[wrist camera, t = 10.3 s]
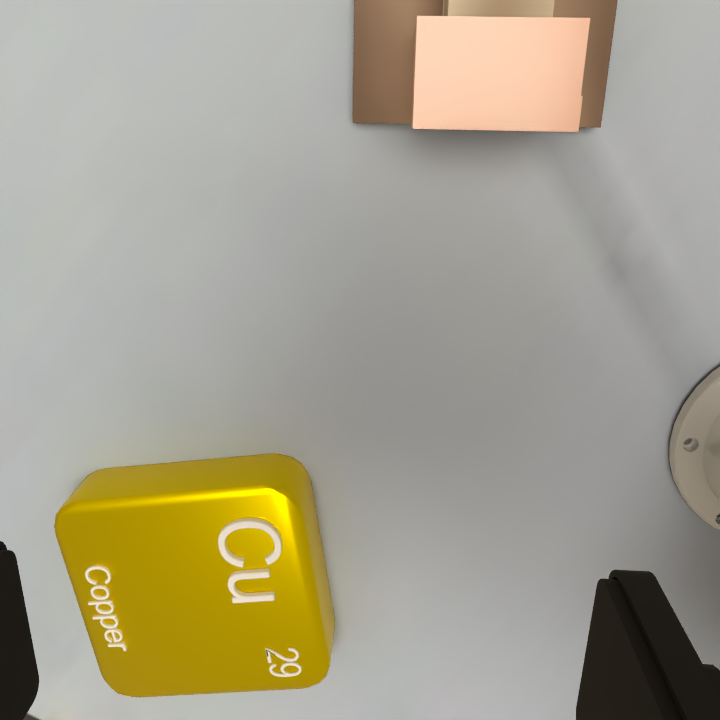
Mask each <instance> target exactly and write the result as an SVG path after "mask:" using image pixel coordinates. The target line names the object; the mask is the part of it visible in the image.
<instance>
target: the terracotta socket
mask: <svg viewBox="0 0 720 720" xmlns="http://www.w3.org/2000/svg"><path fill="white" fill-rule="evenodd" d="M589 25H590V18H558V17H477V16H417V19H416V24H415V29H414V35H413V60H412V85H411V110H410V125H411V127H412V129H452V130H503V131H554V132H578V131H579V123H580V115H581V107H582V99H583V96H581V91H582V83H583V74H584V66H585V58H586V50H587V41H588V33H589Z"/></svg>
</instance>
